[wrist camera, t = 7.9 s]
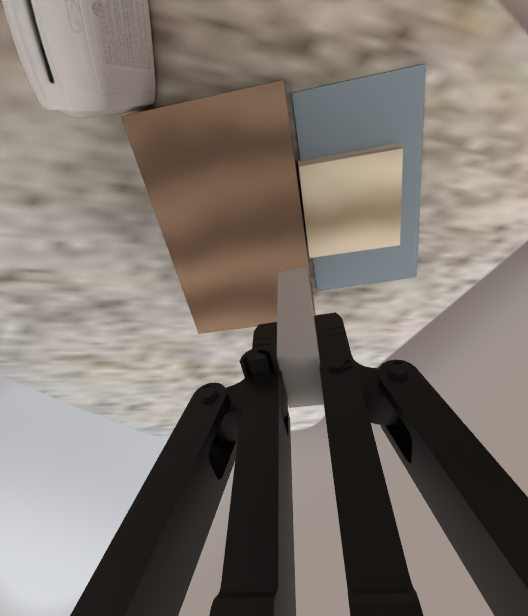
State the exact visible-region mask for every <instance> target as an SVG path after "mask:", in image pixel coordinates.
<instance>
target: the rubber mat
mask: <svg viewBox="0 0 528 616" xmlns="http://www.w3.org/2000/svg"><path fill="white" fill-rule="evenodd" d="M425 71H426V64H422V65H417V66H413V67H408V68H404V69H399V70H395V71H390V72H385V73H381V74H376V75H372V76H367V77H363V78H358V79H354V80H349V81H344V82H340V83H335V84H331V85H326V86H322V87H317V88H313V89H308V90H303V91H299V92H294V93H292V100H293V108H294V115H295V123H296V131H297V139H298V147H299V155H300V160H304V159H310V158H315V157H321V156H327V155H332V154H338V153H343V152H349V151H355V150H360V149H366V148H372V147H377V146H383V145H389V144H396V145H398V146H400V147H401V148H403V165H402V198H401V230H400V245H398V246H391V247H384V248H377V249H370V250H363V251H356V252H349V253H342V254H335V255H328V256H320V257H313V264H314V272H315V280H316V288H317V291H321V290H328V289H335V288H342V287H349V286H356V285H363V284H370V283H377V282H384V281H392V280H399V279H406V278H413V277H417V256H418V233H419V210H420V187H421V164H422V141H423V118H424V95H425Z"/></svg>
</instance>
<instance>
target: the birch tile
mask: <svg viewBox="0 0 528 616" xmlns="http://www.w3.org/2000/svg"><path fill="white" fill-rule="evenodd" d="M402 165H403V148H401V147H400V146H398V145H396V144H389V145H383V146H377V147H372V148H366V149H360V150H355V151H349V152H343V153H338V154H332V155H327V156H321V157H315V158H310V159H304V160H298V169H299V177H300V186H301V194H302V203H303V211H304V220H305V228H306V237H307V245H308V252H309V258H313V257H320V256H328V255H335V254H342V253H349V252H356V251H363V250H370V249H377V248H384V247H391V246H398V245H400V230H401V198H402Z"/></svg>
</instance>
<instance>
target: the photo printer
mask: <svg viewBox="0 0 528 616" xmlns="http://www.w3.org/2000/svg"><path fill="white" fill-rule="evenodd" d="M2 4H3V7H4V11H5V15H6V18H7V21H8V24H9V28H10V31H11V34H12V37H13V40H14V43H15V46H16V49H17V52H18V55H19V58H20V60H21V63H22V65H23V68H24V71H25V73H26V76H27V78H28V80H29V83H30V85H31V87H32V89H33V91H34V93H35V95H36V97H37V98H38V100H39V102H40V104H41V105H42V107H43V108H44V109H46V110H57V111H59V112H61V113H63V114H65V115H67V116H70V117H74V118H92V117H97V116H104V115H110V114H116V113H122V112H128V111H134V110H139V109H143V108H145V107H147V106H148V105H150V104H154V101H155V69H154V57H153V46H152V35H151V25H150V15H149V5H148V0H2Z"/></svg>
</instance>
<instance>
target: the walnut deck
mask: <svg viewBox="0 0 528 616" xmlns="http://www.w3.org/2000/svg"><path fill="white" fill-rule="evenodd" d="M121 119H122V121H123V124H124V127H125V130H126V132H127V135H128V138H129V141H130V144H131V146H132V149H133V152H134V155H135V158H136V160H137V163H138V166H139V169H140V172H141V174H142V177H143V180H144V183H145V185H146V188H147V191H148V194H149V197H150V199H151V202H152V205H153V208H154V211H155V213H156V216H157V219H158V222H159V225H160V227H161V230H162V233H163V236H164V239H165V241H166V244H167V247H168V250H169V252H170V255H171V258H172V261H173V264H174V266H175V269H176V272H177V275H178V278H179V280H180V283H181V286H182V289H183V292H184V294H185V297H186V300H187V303H188V306H189V308H190V311H191V314H192V317H193V319H194V322H195V325H196V328H197V331H198V333H199V334H201V333H209V332H217V331H224V330H232V329H239V328H247V327H255V326H258V325H259V324H264V323H271V322H277V305H278V272H283V271H289V270H295V269H301V268H307V272H308V278H309V285H310V291H311V298H312V304H313V311H314V316H315V307H314V300H313V293H312V285H311V278H310V271H309V263H308V256H307V248H306V241H305V234H304V226H303V219H302V212H301V204H300V197H299V190H298V182H297V175H296V167H295V160H294V153H293V145H292V138H291V131H290V123H289V116H288V108H287V101H286V94H285V86H284V80H280V81H275V82H271V83H267V84H262V85H258V86H253V87H249V88H244V89H240V90H236V91H231V92H227V93H222V94H218V95H213V96H209V97H204V98H200V99H196V100H191V101H187V102H182V103H178V104H173V105H169V106H164V107H160V108H156V109H151V110H147V111H142V112H138V113H134V114H129V115H125V116H121Z"/></svg>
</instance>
